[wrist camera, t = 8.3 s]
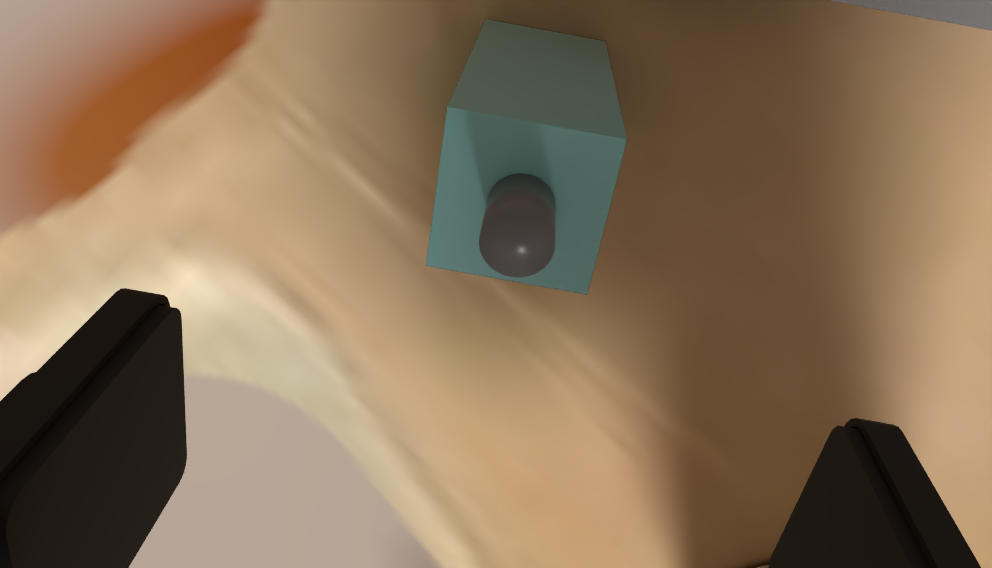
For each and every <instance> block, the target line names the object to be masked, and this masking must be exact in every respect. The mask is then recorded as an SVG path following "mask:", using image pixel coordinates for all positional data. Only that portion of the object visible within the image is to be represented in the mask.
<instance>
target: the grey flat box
mask: <svg viewBox="0 0 992 568" xmlns="http://www.w3.org/2000/svg"><path fill="white" fill-rule="evenodd" d="M830 1H835V2H841V3H846V4H851V5H857V6H862V7H868V8H873V9H878V10H884V11H889V12H895V13H900V14H905V15H911V16H916V17H921V18H927V19H932V20H938V21H943V22H948V23H954V24H959V25H965V26H970V27H975V28H981V29H986V30H991V31H992V0H830Z"/></svg>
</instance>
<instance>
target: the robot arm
mask: <svg viewBox="0 0 992 568" xmlns="http://www.w3.org/2000/svg"><path fill="white" fill-rule="evenodd" d="M186 459H187V448H186V422H185V396H184V371H183V346H182V320H181V313H180V311H179V310H178V309H177V308H172V307H170V304H169V301H168V299H167V297H166V296H164V295H159V294H154V293H148V292H143V291H137V290H131V289H126V288H125V289H120V290H118V291H117V292H116V293H115V294H114V295H113V296H112V297H111V298H110V299H109V300H108V301H107V302H106V303H105V304H104V305H103V306H102V307H101V308H100V309H99V310H98V311H97V312H96V313H95V314H94V315H93V316H92V317H91V318H90V319H89V320H88V321H87V322H86V323H85V324H84V325H83V326H82V327H81V328H80V329H79V330H78V331H77V332H76V333H75V334H74V335H73V336H72V337H71V338H70V339H69V340H68V341H67V342H66V343H65V344H64V345H63V346H62V347H61V348H60V349H59V350H58V351H57V352H56V353H55V354H54V355H53V356H52V357H51V358H50V359H49V360H48V361H47V362H46V363H45V364H44V365H43V366H42V367H41V368H40V369H39V370H38V371H37V372H35V373H31V374H29V375H28V376H27V377H25V378H24V379H23V380H21V381H20V382H19V383H18V384H17V385H16V386H15V387H14V388H13V389H12V390H11V391H10V392H9V393H8V394H7V395H6V396H5V397H4V398H3V399H2V400H1V401H0V568H128V567H129V565H130V564H131V562H132V560H133V559H134V557H135V556H136V554H137V552H138V551H139V549H140V547H141V546H142V544H143V542H144V541H145V539H146V537H147V536H148V534H149V532H150V531H151V529H152V527H153V526H154V524H155V522H156V521H157V519H158V517H159V516H160V514H161V512H162V511H163V509H164V507H165V506H166V504H167V502H168V501H169V499H170V497H171V496H172V494H173V492H174V491H175V489H176V487H177V486H178V484H179V482H180V480H181V478H182V475H183V473H184V469H185V466H186ZM757 568H981V567H980V565H979V563H978V562H977V560H976V558H975V556H974V555H973V553H972V551H971V549H970V548H969V546H968V544H967V543H966V541H965V539H964V537H963V536H962V534H961V532H960V530H959V529H958V527H957V525H956V524H955V522H954V520H953V518H952V517H951V515H950V513H949V511H948V510H947V508H946V506H945V505H944V503H943V501H942V499H941V498H940V496H939V494H938V492H937V491H936V489H935V487H934V486H933V484H932V482H931V480H930V479H929V477H928V475H927V474H926V472H925V470H924V468H923V467H922V465H921V463H920V461H919V460H918V458H917V456H916V455H915V453H914V451H913V449H912V448H911V446H910V444H909V442H908V441H907V439H906V437H905V436H904V434H903V432H902V431H901V430H900V428H899V427H897V426H895V425H891V424H886V423H880V422H875V421H869V420H863V419H858V418H854V419H851V420H849V421H848V422H847V423H846V424H845V426H844V427H843V426H836V427H835V428H834V429H833V430H832V432H831V433H830V435H829V437H828V439H827V441H826V443H825V446H824V448H823V450H822V452H821V454H820V456H819V458H818V460H817V462H816V464H815V466H814V468H813V471H812V473H811V475H810V477H809V479H808V481H807V483H806V485H805V487H804V489H803V491H802V493H801V496H800V498H799V500H798V502H797V504H796V506H795V508H794V510H793V512H792V514H791V516H790V518H789V521H788V523H787V525H786V527H785V529H784V531H783V533H782V535H781V537H780V539H779V541H778V543H777V546H776V548H775V550H774V552H773V554H772V556H771V559H770V562H769V565H765V566H760V567H757Z"/></svg>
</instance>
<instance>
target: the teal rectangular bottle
mask: <svg viewBox="0 0 992 568" xmlns="http://www.w3.org/2000/svg"><path fill="white" fill-rule="evenodd" d="M626 142H627V137H626V132H625V128H624V123H623V119H622V114H621V110H620V105H619V101H618V96H617V92H616V87H615V83H614V78H613V74H612V69H611V65H610V60H609V56H608V51H607V47H606V42H605V41H601V40H596V39H591V38H585V37H580V36H574V35H569V34H563V33H558V32H553V31H547V30H542V29H536V28H531V27H525V26H520V25H515V24H509V23H504V22H498V21H493V20H487V19H486V20H485V22H484V24H483V27H482V29H481V31H480V33H479V36H478V38H477V40H476V43H475V45H474V47H473V49H472V52H471V54H470V56H469V59H468V61H467V63H466V65H465V68H464V70H463V72H462V75H461V77H460V79H459V81H458V84H457V86H456V88H455V90H454V93H453V95H452V97H451V100H450V102H449V104H448V106H447V113H446V121H445V128H444V135H443V143H442V150H441V157H440V165H439V172H438V180H437V187H436V194H435V202H434V209H433V216H432V224H431V231H430V238H429V246H428V253H427V260H426V266H430V267H435V268H441V269H446V270H452V271H458V272H463V273H469V274H474V275H480V276H486V277H491V278H497V279H502V280H508V281H513V282H519V283H525V284H530V285H536V286H541V287H547V288H553V289H558V290H564V291H569V292H575V293H581V294H586V295H587V294H588V290H589V286H590V283H591V279H592V275H593V271H594V267H595V263H596V259H597V255H598V251H599V247H600V243H601V239H602V236H603V232H604V228H605V224H606V220H607V216H608V212H609V208H610V204H611V200H612V196H613V193H614V189H615V185H616V181H617V177H618V173H619V169H620V165H621V161H622V157H623V153H624V150H625V146H626Z"/></svg>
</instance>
